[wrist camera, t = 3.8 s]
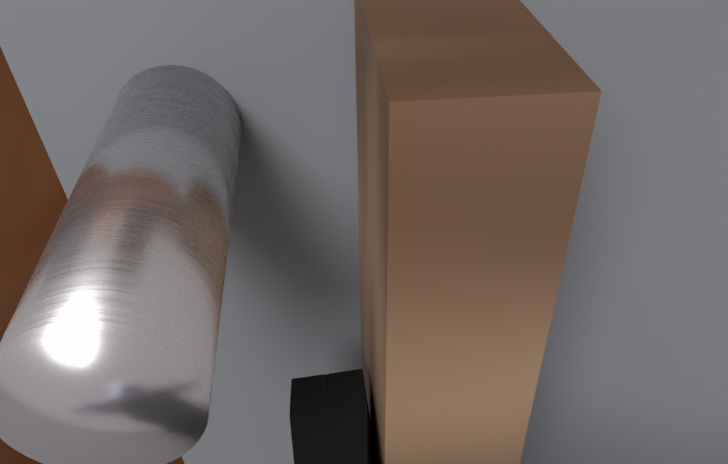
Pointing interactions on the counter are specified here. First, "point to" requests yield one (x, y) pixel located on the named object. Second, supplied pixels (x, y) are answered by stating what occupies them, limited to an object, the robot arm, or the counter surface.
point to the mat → (341, 216)
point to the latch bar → (461, 219)
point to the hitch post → (129, 285)
